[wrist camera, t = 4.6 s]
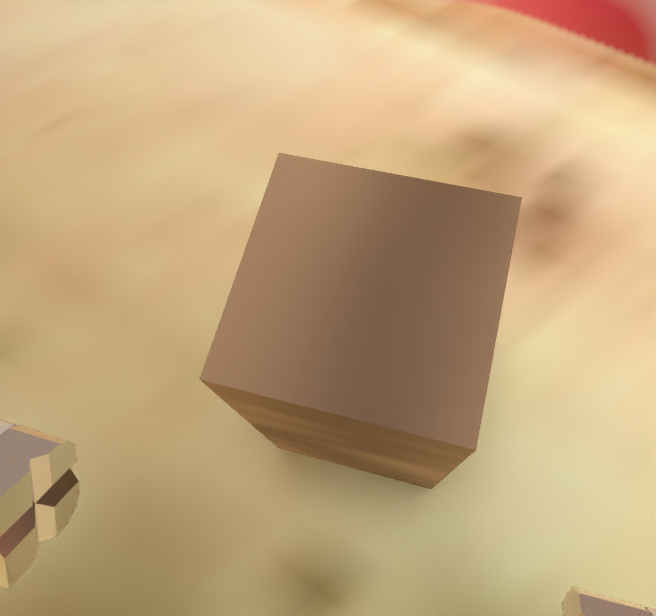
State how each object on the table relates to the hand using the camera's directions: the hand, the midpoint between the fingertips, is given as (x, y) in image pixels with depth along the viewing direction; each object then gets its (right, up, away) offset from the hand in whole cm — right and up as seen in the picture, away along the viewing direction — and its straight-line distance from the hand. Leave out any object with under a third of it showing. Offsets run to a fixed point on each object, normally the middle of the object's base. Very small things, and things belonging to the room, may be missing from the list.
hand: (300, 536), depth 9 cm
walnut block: (+2, +1, +10) cm, 10 cm away
